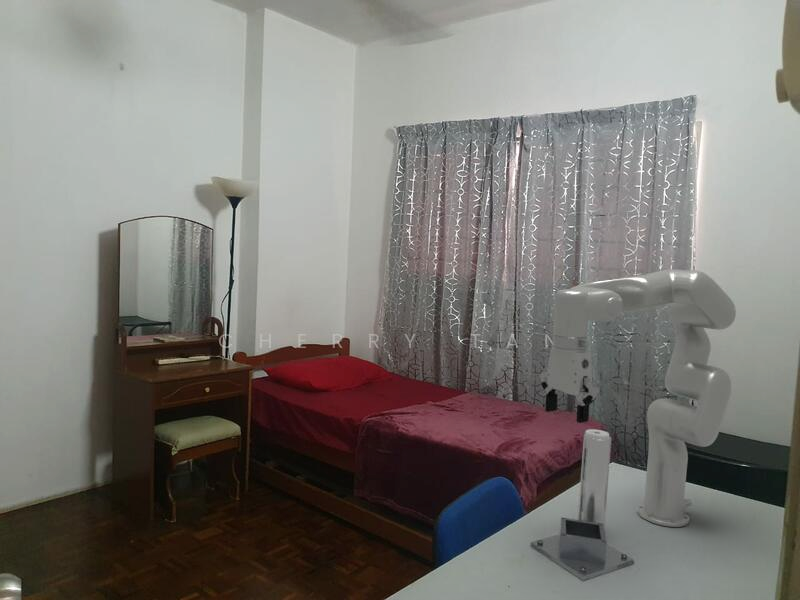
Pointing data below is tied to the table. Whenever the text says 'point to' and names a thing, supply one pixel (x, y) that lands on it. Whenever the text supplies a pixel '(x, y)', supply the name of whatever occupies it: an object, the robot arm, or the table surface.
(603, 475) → the air filter
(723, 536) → the table surface
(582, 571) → the metal base plate
